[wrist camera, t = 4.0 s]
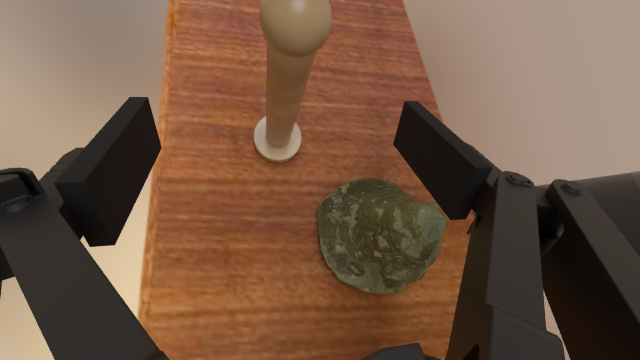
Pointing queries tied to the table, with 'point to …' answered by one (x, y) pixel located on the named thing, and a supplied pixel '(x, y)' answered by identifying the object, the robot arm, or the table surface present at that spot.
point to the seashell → (378, 235)
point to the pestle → (288, 70)
